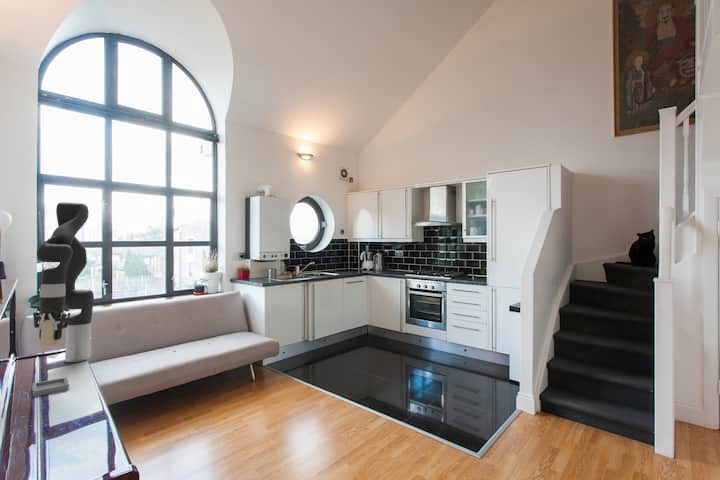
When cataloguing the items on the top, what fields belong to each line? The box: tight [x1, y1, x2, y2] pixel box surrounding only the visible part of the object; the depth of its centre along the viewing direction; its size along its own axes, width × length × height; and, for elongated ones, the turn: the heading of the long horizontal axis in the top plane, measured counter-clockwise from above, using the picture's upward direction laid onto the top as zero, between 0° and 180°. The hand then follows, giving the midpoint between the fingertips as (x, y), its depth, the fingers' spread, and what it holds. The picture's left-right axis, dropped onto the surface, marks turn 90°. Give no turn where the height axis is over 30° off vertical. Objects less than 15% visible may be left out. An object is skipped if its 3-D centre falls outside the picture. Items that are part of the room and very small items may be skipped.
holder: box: [31, 376, 70, 398], centre depth 135 cm, size 10×10×2 cm
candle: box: [39, 320, 60, 347], centre depth 138 cm, size 6×6×10 cm
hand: (50, 339), depth 138 cm, fingers closed on candle, 5 cm apart
